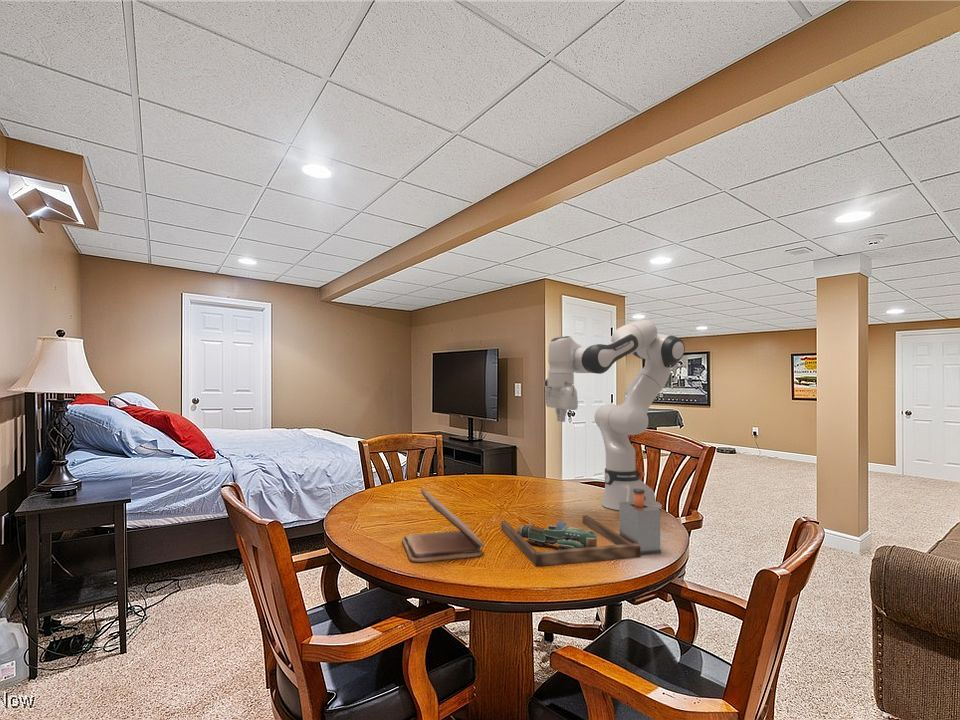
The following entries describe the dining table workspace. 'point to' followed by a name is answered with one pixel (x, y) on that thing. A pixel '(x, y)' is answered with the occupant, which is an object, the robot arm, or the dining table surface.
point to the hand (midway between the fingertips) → (561, 421)
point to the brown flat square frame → (578, 554)
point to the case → (443, 539)
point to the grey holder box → (640, 526)
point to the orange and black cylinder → (639, 498)
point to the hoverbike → (559, 536)
